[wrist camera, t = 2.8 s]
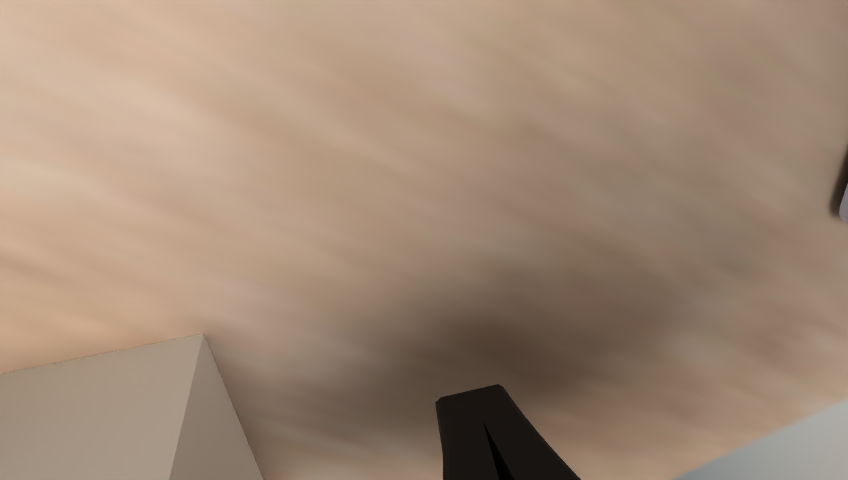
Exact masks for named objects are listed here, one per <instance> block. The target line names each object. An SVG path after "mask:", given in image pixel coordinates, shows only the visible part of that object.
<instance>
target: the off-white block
mask: <svg viewBox="0 0 848 480" xmlns="http://www.w3.org/2000/svg"><path fill="white" fill-rule="evenodd" d="M0 480H263V478H262V475H261V473H260V470H259V468H258V466H257V463H256V461H255V458H254V456H253V453H252V451H251V448H250V446H249V444H248V441H247V439H246V436H245V434H244V431H243V429H242V426H241V424H240V422H239V419H238V417H237V414H236V412H235V409H234V407H233V405H232V402H231V400H230V397H229V395H228V392H227V390H226V387H225V385H224V383H223V380H222V378H221V375H220V373H219V370H218V368H217V366H216V363H215V361H214V358H213V356H212V353H211V351H210V348H209V346H208V344H207V341H206V339H205V336H204V334H199V335H194V336H189V337H184V338H179V339H174V340H169V341H164V342H159V343H154V344H149V345H144V346H139V347H134V348H129V349H124V350H119V351H114V352H109V353H104V354H99V355H94V356H89V357H84V358H79V359H74V360H69V361H64V362H59V363H54V364H49V365H44V366H39V367H34V368H29V369H24V370H19V371H14V372H9V373H4V374H0Z"/></svg>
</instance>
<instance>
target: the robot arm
mask: <svg viewBox="0 0 848 480" xmlns="http://www.w3.org/2000/svg"><path fill="white" fill-rule="evenodd" d="M839 215H840V218H841V220H843V221H844V222H846V223H848V184H847V187H846V190H845V193H844V196H843V199H842V202H841V205H840V211H839ZM435 404H436V411H437V417H438V424H439V431H440V438H441V445H442V452H443V480H581V479H580V478H579V477H578V476H577V475H576V474H575V473H574V472H573V471H572V470H571V469H570V468H569V466H568V465H567V464H566V463H565V462H564V461H563V460H562V459H561V458H560V457H559V456H558V455H557V453H556V452H555V451H554V450H553V449H552V448H551V447H550V446H549V445H548V443H547V442H546V441H545V440H544V439H543V438H542V437H541V435H540V434H539V433H538V432H537V431H536V429H535V428H534V427H533V426H532V425H531V423H530V422H529V421H528V420H527V418H526V417H525V416H524V415H523V413H522V412H521V411H520V409H519V408H518V407H517V406H516V404H515V403H514V402H513V400H512V399H511V397H510V396H509V395H508V393H507V392H506V390H505V389H504V387H502V386H500V385H499V384H497V385H493V386H488V387H484V388H480V389H475V390H471V391H467V392H463V393H458V394H454V395H450V396H445V397H441V398H440V399H439V400H438V401H437V402H436V403H435Z"/></svg>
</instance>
